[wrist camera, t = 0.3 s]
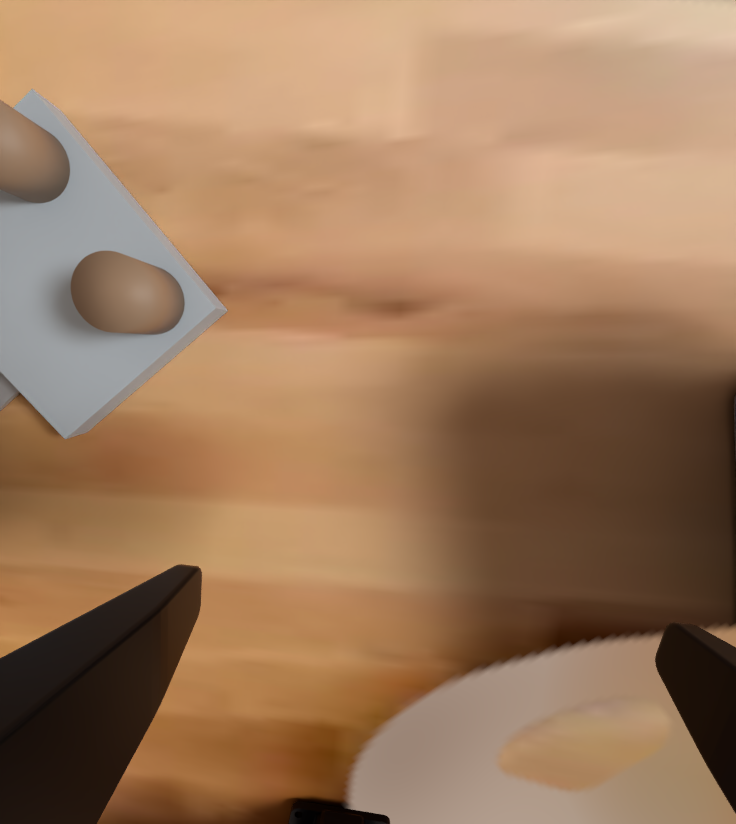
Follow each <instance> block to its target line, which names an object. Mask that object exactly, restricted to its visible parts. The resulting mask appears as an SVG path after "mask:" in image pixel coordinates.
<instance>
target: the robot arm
mask: <svg viewBox="0 0 736 824" xmlns="http://www.w3.org/2000/svg"><path fill="white" fill-rule="evenodd" d="M201 584H202V572H201V569H200V568H199V567H198V566H190V565H176V566H174V567H172V568H170V569H168V570H167V571H165V572H163V573H161V574H159V575H157V576H155V577H153V578H151V579H150V580H148V581H146V582H144V583H142V584H140V585H138V586H136V587H134V588H133V589H131V590H129V591H127V592H125V593H123V594H121V595H119V596H117V597H115V598H114V599H112V600H110V601H108V602H106V603H104V604H102V605H100V606H98V607H97V608H95V609H93V610H91V611H89V612H87V613H85V614H83V615H81V616H79V617H78V618H76V619H74V620H72V621H70V622H68V623H66V624H64V625H62V626H61V627H59V628H57V629H55V630H53V631H51V632H49V633H47V634H45V635H43V636H42V637H40V638H38V639H36V640H34V641H32V642H30V643H28V644H26V645H25V646H23V647H21V648H19V649H17V650H15V651H13V652H11V653H9V654H8V655H6V656H4V657H2V658H0V824H97V822H98V820H99V818H100V816H101V814H102V813H103V811H104V809H105V807H106V805H107V803H108V801H109V800H110V798H111V796H112V794H113V792H114V790H115V789H116V787H117V785H118V783H119V781H120V779H121V777H122V776H123V774H124V772H125V770H126V768H127V766H128V764H129V763H130V761H131V759H132V757H133V755H134V753H135V752H136V750H137V748H138V746H139V744H140V742H141V740H142V739H143V737H144V735H145V733H146V731H147V729H148V727H149V726H150V724H151V722H152V720H153V718H154V716H155V714H156V712H157V710H158V708H159V706H160V704H161V702H162V700H163V698H164V695H165V693H166V691H167V689H168V686H169V684H170V682H171V679H172V677H173V674H174V672H175V670H176V667H177V665H178V663H179V660H180V658H181V656H182V653H183V651H184V649H185V646H186V644H187V642H188V639H189V637H190V634H191V632H192V630H193V627H194V625H195V623H196V620H197V618H198V615H199V611H200V606H201ZM655 662H656V667H657V670H658V672H659V675H660V677H661V679H662V680H663V682H664V684H665V686H666V688H667V690H668V692H669V694H670V696H671V698H672V700H673V702H674V704H675V706H676V707H677V709H678V711H679V713H680V715H681V717H682V719H683V721H684V723H685V725H686V727H687V729H688V731H689V733H690V735H691V736H692V738H693V740H694V742H695V744H696V746H697V748H698V750H699V752H700V754H701V755H702V757H703V759H704V761H705V763H706V765H707V766H708V768H709V770H710V771H711V773H712V775H713V777H714V778H715V780H716V782H717V784H718V785H719V787H720V788H721V790H722V792H723V793H724V795H725V797H726V798H727V800H728V802H729V803H730V805H731V806H732V808H733V810H734V811H735V813H736V648H735V647H734V646H732V645H730V644H728V643H727V642H725V641H723V640H721V639H719V638H717V637H716V636H714V635H712V634H710V633H708V632H707V631H705V630H703V629H701V628H699V627H697V626H695V625H692V624H684V623H676V622H673V623H670V624H669V625H667V626H666V628H665V631H664V634H663V637H662V639H661V642H660V645H659V648H658V651H657V653H656V658H655ZM288 824H390V820H389V818H388V817H387V816H385V815H381V814H374V813H369V812H362V811H356V810H350V809H344V808H338V807H332V806H326V805H320V804H314V803H308V802H302V801H297V802H295V803H294V804H293V805H292V809H291V814H290V819H289V823H288Z"/></svg>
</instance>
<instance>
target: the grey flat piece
mask: <svg viewBox="0 0 736 824" xmlns="http://www.w3.org/2000/svg"><path fill="white" fill-rule="evenodd" d="M227 311H228V310H227V309H226V308H225V307H224V306H223V304H222V303H221V302H220V301H219V300H218V298H217V297H216V296H215V295H214V294H213V292H212V291H211V290H210V289H209V288H208V286H207V285H206V284H205V283H204V282H203V280H202V279H201V278H200V277H199V276H198V274H197V273H196V272H195V271H194V270H193V268H192V267H191V266H190V265H189V264H188V262H187V261H186V260H185V259H184V258H183V256H182V255H181V254H180V253H179V252H178V250H177V249H176V248H175V247H174V246H173V244H172V243H171V242H170V241H169V240H168V238H167V237H166V236H165V235H164V234H163V232H162V231H161V230H160V229H159V228H158V226H157V225H156V224H155V223H154V222H153V220H152V219H151V218H150V217H149V216H148V214H147V213H146V212H145V211H144V210H143V208H142V207H141V206H140V205H139V204H138V202H137V201H136V200H135V199H134V198H133V196H132V195H131V194H130V193H129V192H128V190H127V189H126V188H125V187H124V186H123V184H122V183H121V182H120V181H119V180H118V178H117V177H116V176H115V175H114V174H113V173H112V171H111V170H110V169H109V168H108V167H107V165H106V164H105V163H104V162H103V161H102V159H101V158H100V157H99V156H98V155H97V153H96V152H95V151H94V150H93V149H92V147H91V146H90V145H89V144H88V143H87V141H86V140H85V139H84V138H83V137H82V135H81V134H80V133H79V132H78V131H77V129H76V128H75V127H74V126H73V125H72V123H71V122H70V121H69V120H68V119H67V117H66V116H65V115H64V114H63V113H62V111H61V110H60V109H58V108H57V107H56V106H54V105H53V104H52V103H50V102H49V101H48V100H47V99H45V98H44V97H43V96H41V95H40V94H39V93H37V92H36V91H35V90H33V89H31V90H30V91H29V93H28V94H27V95H26V96H25V97H24V98H23V99H22V100H21V101H20V102H19V103H18V104H17V105H16V106H15V107H14V108H12V107H10V106H9V105H7V104H6V103H4V102H3V101H1V100H0V411H1V410H2V409H3V408H4V407H5V406H6V405H7V404H9V403H10V402H11V401H12V400H13V399H14V398H15V397H16V396H17V395H19V394H20V393H21V394H22V395H23V396H24V397H25V398H26V399H27V400H28V401H29V402H30V403H31V404H32V405H33V406H34V407H35V408H36V410H37V411H38V412H39V413H40V414H41V415H42V416H43V417H44V418H45V419H46V420H47V421H48V422H49V423H50V424H51V425H52V426H53V427H54V428H55V429H56V430H57V432H58V433H59V434H60V435H61V436H62V437H63V438H64V439H68V438H71V437H74V436H77V435H81V434H84V433H87V432H88V431H90V430H91V429H92V428H93V427H94V426H95V425H96V424H98V423H99V422H100V421H101V420H102V419H103V418H105V417H106V416H107V415H108V414H109V413H110V412H111V411H113V410H114V409H115V408H116V407H117V406H118V405H120V404H121V403H122V402H123V401H124V400H125V399H127V398H128V397H129V396H130V395H131V394H132V393H133V392H135V391H136V390H137V389H138V388H139V387H140V386H142V385H143V384H144V383H145V382H146V381H147V380H149V379H150V378H151V377H152V376H153V375H154V374H155V373H157V372H158V371H159V370H160V369H161V368H162V367H164V366H165V365H166V364H167V363H168V362H169V361H171V360H172V359H173V358H174V357H175V356H176V355H177V354H179V353H180V352H181V351H182V350H183V349H184V348H186V347H187V346H188V345H189V344H190V343H191V342H193V341H194V340H195V339H196V338H197V337H198V336H199V335H201V334H202V333H203V332H204V331H205V330H206V329H208V328H209V327H210V326H211V325H212V324H213V323H214V322H216V321H217V320H218V319H219V318H220V317H221V316H223V315H224V314H225V313H226V312H227Z"/></svg>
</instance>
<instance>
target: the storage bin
mask: <svg viewBox="0 0 736 824" xmlns="http://www.w3.org/2000/svg"><path fill="white" fill-rule="evenodd" d="M734 427H735V460H736V395H735V398H734Z"/></svg>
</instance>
